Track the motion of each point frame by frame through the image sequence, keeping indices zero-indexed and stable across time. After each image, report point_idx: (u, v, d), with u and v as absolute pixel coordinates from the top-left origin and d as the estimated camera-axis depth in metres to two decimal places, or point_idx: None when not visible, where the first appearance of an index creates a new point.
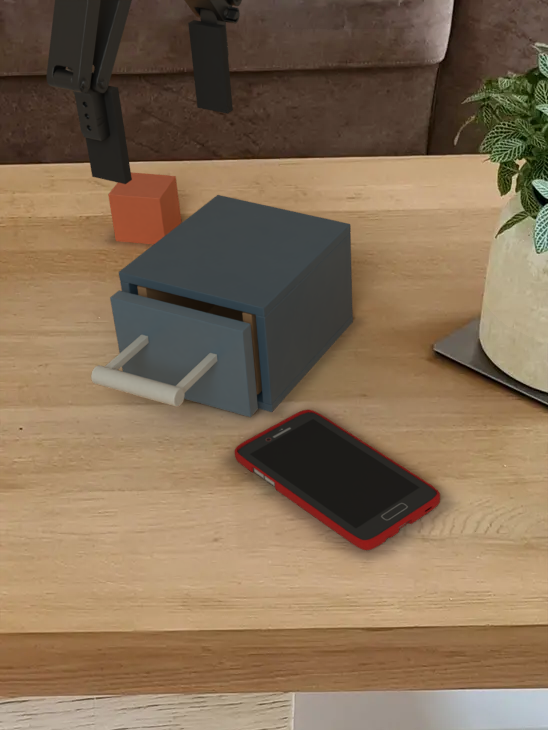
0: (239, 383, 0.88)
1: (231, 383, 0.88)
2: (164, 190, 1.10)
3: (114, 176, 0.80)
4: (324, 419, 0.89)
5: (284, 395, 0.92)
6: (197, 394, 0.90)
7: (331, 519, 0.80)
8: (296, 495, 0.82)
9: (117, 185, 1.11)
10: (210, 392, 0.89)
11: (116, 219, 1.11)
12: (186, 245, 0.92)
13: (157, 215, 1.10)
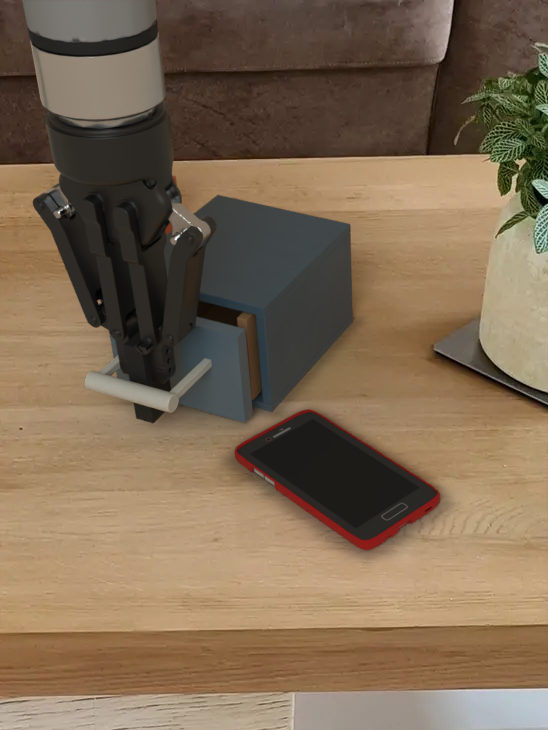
0: (234, 388, 0.87)
1: (225, 389, 0.87)
2: None
3: None
4: (324, 419, 0.89)
5: (284, 395, 0.92)
6: (191, 399, 0.89)
7: (331, 519, 0.80)
8: (296, 495, 0.82)
9: None
10: (205, 397, 0.89)
11: None
12: None
13: None
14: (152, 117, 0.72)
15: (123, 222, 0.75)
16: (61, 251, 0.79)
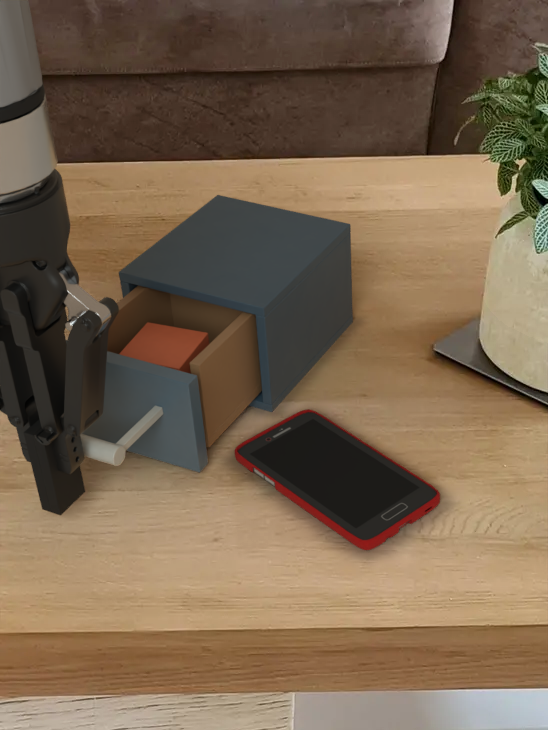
0: (187, 437, 0.82)
1: (178, 437, 0.83)
2: (188, 355, 0.85)
3: (77, 494, 0.79)
4: (324, 419, 0.89)
5: (284, 395, 0.92)
6: (143, 447, 0.85)
7: (331, 519, 0.80)
8: (296, 495, 0.82)
9: (131, 343, 0.86)
10: (157, 446, 0.84)
11: None
12: (186, 245, 0.92)
13: None
14: (40, 192, 0.64)
15: (12, 305, 0.67)
16: None
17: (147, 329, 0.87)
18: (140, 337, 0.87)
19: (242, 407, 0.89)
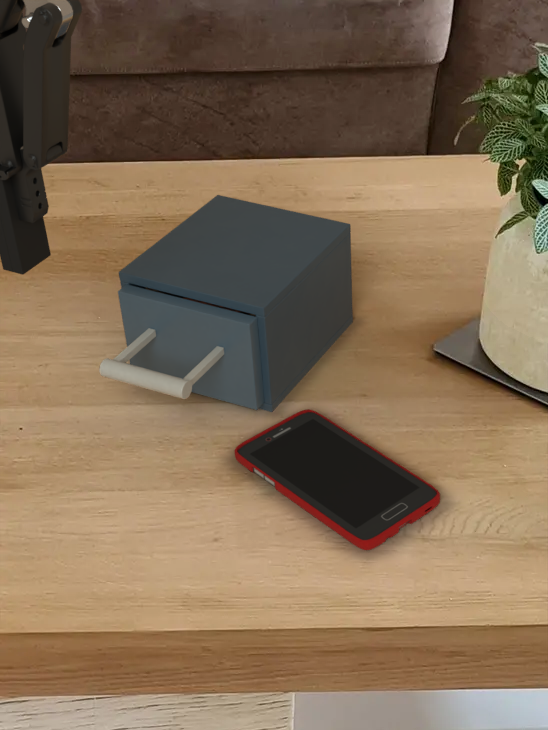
0: (246, 376, 0.88)
1: (238, 376, 0.89)
2: None
3: (41, 255, 0.72)
4: (324, 419, 0.89)
5: (284, 395, 0.92)
6: (204, 387, 0.91)
7: (331, 519, 0.80)
8: (296, 495, 0.82)
9: None
10: (217, 385, 0.90)
11: None
12: (186, 245, 0.92)
13: None
14: None
15: None
16: None
17: None
18: None
19: None
